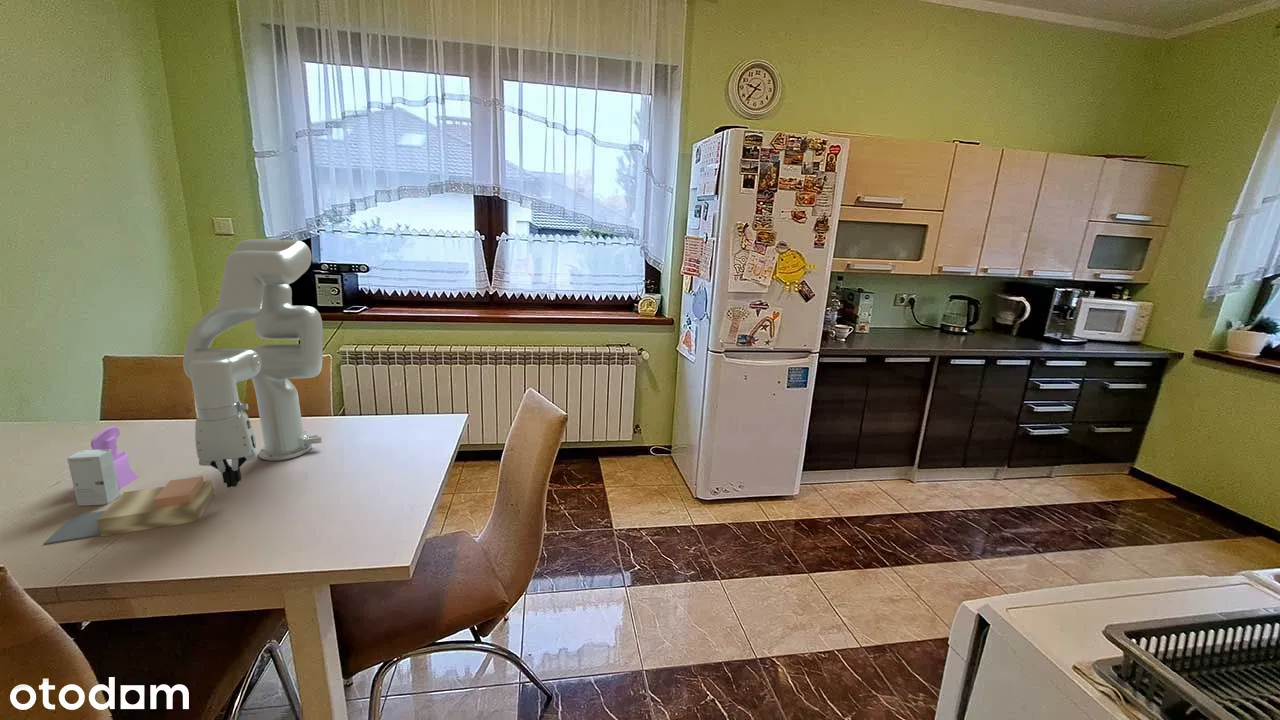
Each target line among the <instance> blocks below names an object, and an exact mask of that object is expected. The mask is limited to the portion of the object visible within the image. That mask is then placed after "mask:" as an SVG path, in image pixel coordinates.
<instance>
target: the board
mask: <svg viewBox="0 0 1280 720" xmlns="http://www.w3.org/2000/svg"><path fill="white" fill-rule="evenodd" d="M164 487H165V486H159V487H151V488H145V489H139V490H138V489H137V490H129V491H124V492H123V493H121V494H120V496H119V497H117V498H116V499H115V500H114V501H113V503H112V504H111V505H110V506H109V507H108V508H106V510H104V511H105V512H104V513H103V514H102V515H101V516H100V517H99V518H98V519H97V522H98V526H99V530H100V533H101V537H107V536H112V535H113V536H114V535H119V534H120V535H121V534H125V533H132V532H139V531H144V530H152V529H157V528H163V527H164V528H165V527H169V526H176V525H183V524H189V523H195V522H198V521H199V519H200V518H201V517H202V515H203V513H204V512H205V511H206V509H207V507H208V506H209V504H210V503H211V501H212V500H213V498H214V497H215V491H214V485H213V481H212V480H205V481H204V485H203V486H202V488H201V489H200V490H199V492H198V493H197V495H196V496H195V497H194V499H193V500H192V501H191V503H186V504H179V505H172V506H165V507H158V508H156V507H155V503H154V499H155V498H156V497H157V495H158V494H159V493H160V492H161V491H162V490H163V488H164Z"/></svg>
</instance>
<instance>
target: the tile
mask: <svg viewBox="0 0 1280 720" xmlns="http://www.w3.org/2000/svg"><path fill="white" fill-rule="evenodd" d="M203 485H204V476H196V477H195V476H194V477H188V478H180V479H179V478H178V479H173V480H172V479H171V480H169V482H167V484H166V485H165V486H163V487H164V488H163V490H162V491H161V492H160V493H159V494H158V495H157V497H156V498H155V499H154V503H155V507H156V508H158V507H165V506H172V505H179V504H186V503H191V501H192V500H193V499H194V497H195V496H196V495H197V493H198V492H199V490H200V489H201V488H202V486H203Z"/></svg>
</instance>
